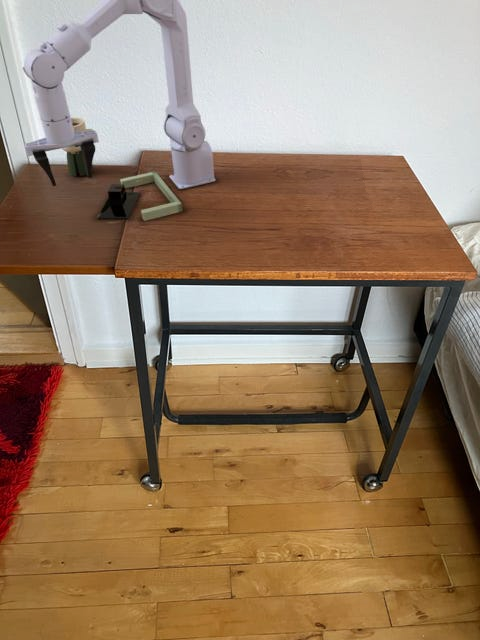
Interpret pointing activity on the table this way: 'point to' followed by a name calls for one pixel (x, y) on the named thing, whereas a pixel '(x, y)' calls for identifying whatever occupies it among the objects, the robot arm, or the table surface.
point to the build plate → (119, 203)
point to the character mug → (76, 150)
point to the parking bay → (166, 208)
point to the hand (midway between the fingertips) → (71, 180)
